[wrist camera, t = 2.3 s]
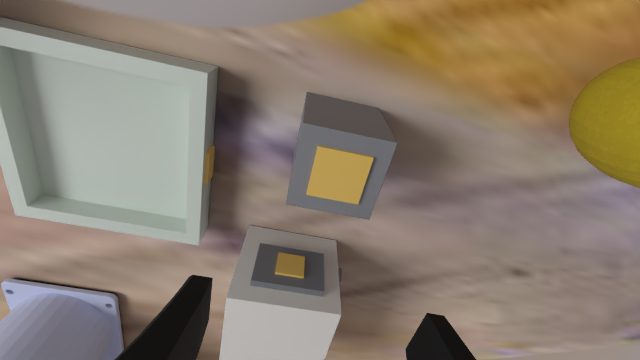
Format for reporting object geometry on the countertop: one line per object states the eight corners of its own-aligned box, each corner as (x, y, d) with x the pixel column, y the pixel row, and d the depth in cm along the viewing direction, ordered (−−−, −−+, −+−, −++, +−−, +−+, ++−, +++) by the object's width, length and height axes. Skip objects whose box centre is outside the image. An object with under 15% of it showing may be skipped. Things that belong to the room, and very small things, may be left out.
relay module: (360, 171, 19) (372, 222, 15) (293, 157, 19) (285, 206, 15) (380, 108, 18) (401, 145, 13) (306, 91, 17) (302, 123, 13)
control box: (315, 324, 26) (314, 404, 21) (236, 313, 26) (215, 393, 20) (345, 235, 22) (353, 309, 17) (250, 218, 21) (227, 290, 16)
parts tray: (210, 228, 21) (202, 245, 20) (38, 198, 20) (15, 214, 19) (222, 67, 16) (212, 74, 15) (-6, 15, 15) (-43, 17, 14)
